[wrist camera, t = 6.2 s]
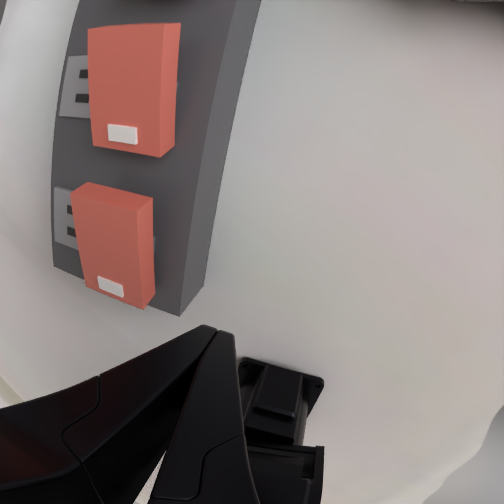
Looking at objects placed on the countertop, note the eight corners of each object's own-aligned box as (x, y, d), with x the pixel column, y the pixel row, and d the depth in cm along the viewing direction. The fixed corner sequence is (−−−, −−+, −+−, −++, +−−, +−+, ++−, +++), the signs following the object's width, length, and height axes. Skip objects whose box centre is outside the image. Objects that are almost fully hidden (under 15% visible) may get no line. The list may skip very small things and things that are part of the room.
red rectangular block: (155, 293, 18) (142, 311, 16) (99, 272, 18) (84, 287, 17) (152, 197, 14) (134, 212, 13) (87, 181, 15) (67, 194, 13)
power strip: (203, 285, 22) (175, 322, 18) (87, 246, 23) (48, 269, 19) (303, -143, 8) (295, -177, 4) (180, -137, 9) (156, -163, 5)
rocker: (174, 145, 15) (158, 158, 14) (109, 135, 15) (91, 146, 14) (180, 22, 11) (162, 24, 10) (107, 25, 11) (85, 29, 10)
